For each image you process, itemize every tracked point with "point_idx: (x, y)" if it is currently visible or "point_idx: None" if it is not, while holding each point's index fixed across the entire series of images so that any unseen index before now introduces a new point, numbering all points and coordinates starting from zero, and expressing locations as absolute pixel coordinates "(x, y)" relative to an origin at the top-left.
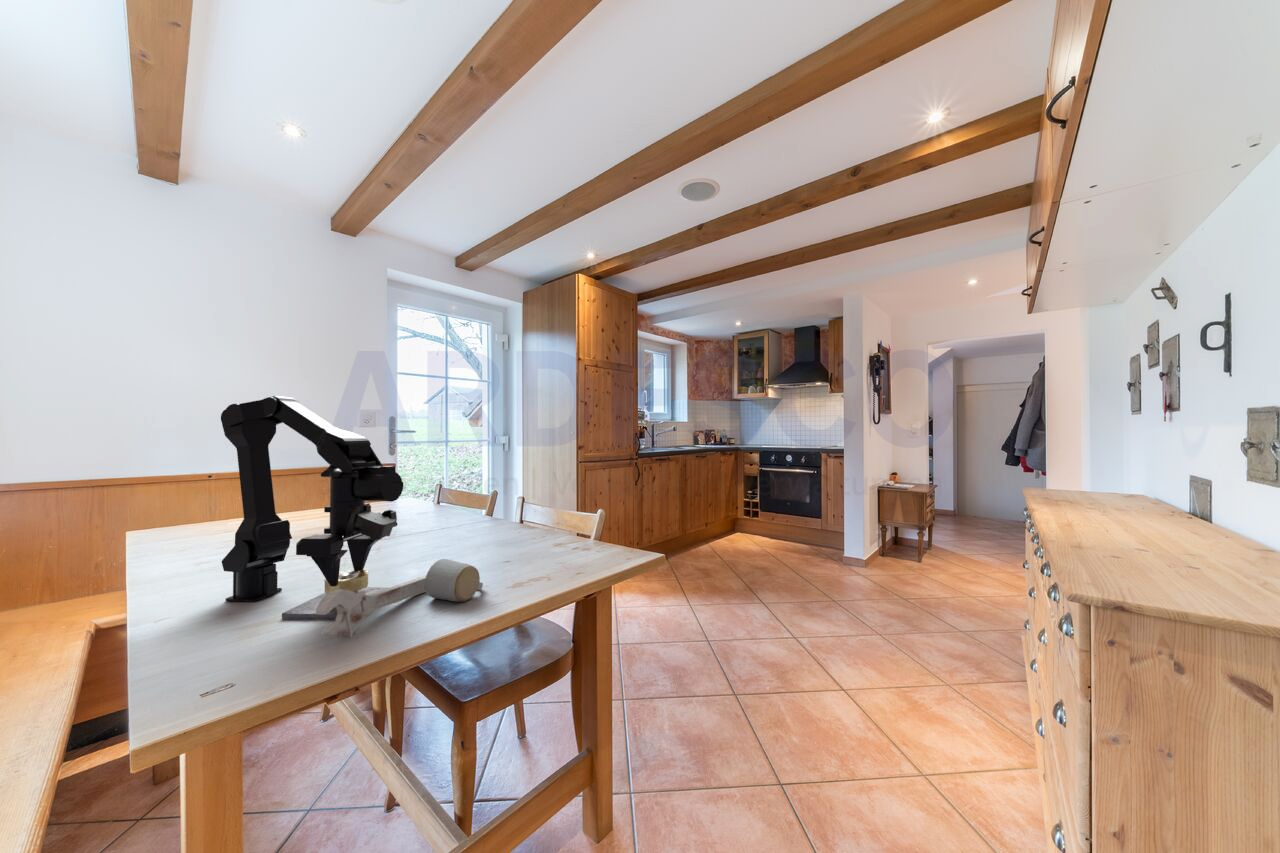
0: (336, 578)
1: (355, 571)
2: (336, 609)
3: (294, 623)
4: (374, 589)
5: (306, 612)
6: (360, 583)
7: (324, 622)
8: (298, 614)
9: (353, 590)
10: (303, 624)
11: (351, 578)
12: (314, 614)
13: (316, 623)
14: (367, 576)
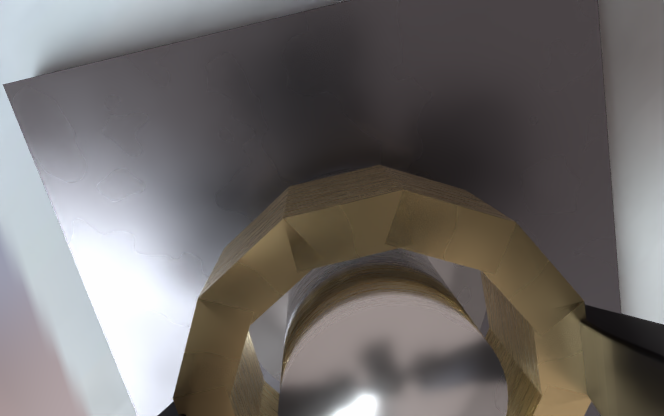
0: (643, 326)
1: (297, 395)
2: (533, 188)
3: (651, 303)
4: (131, 268)
5: None
6: (399, 179)
7: (624, 150)
8: None
9: (449, 187)
10: (660, 244)
11: (475, 259)
12: (614, 258)
13: (642, 184)
14: (292, 207)
